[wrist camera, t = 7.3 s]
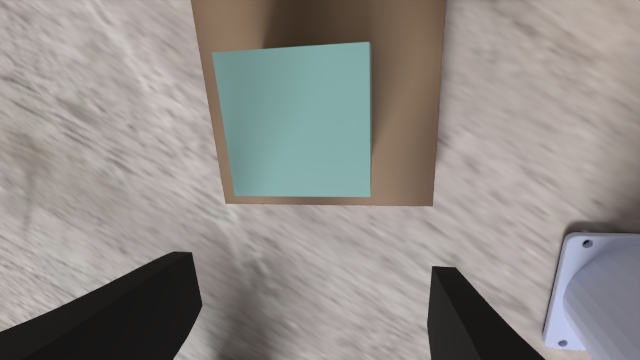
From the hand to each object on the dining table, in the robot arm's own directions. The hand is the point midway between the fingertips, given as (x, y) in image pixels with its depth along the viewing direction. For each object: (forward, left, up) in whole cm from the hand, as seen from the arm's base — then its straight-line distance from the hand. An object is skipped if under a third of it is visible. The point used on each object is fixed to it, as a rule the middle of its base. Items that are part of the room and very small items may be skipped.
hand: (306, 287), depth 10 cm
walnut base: (+1, -5, -10) cm, 11 cm away
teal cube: (+1, -4, -8) cm, 9 cm away
